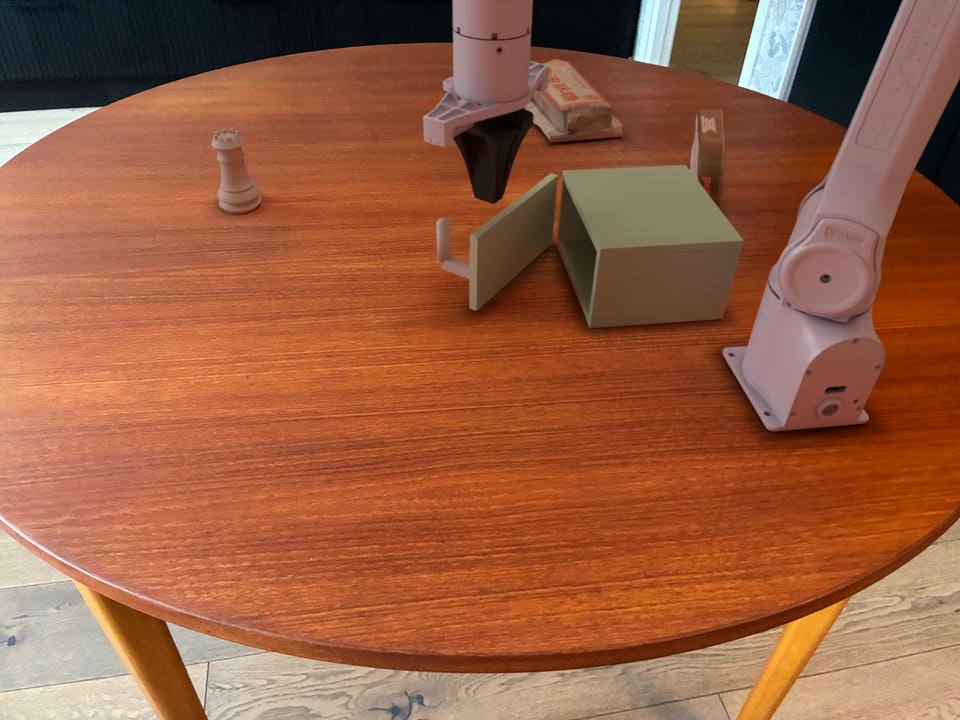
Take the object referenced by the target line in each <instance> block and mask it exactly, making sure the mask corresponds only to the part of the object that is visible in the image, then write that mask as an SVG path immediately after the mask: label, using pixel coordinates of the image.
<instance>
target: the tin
mask: <svg viewBox="0 0 960 720" xmlns="http://www.w3.org/2000/svg"><path fill="white" fill-rule="evenodd" d="M694 121H695V129H694V136H693V143H692V145H691V149H690V157H689V170H690V171H691V172H692V174H693V175H694V176H695V178H696V179H697V180H698V181H699V183H700V184H701V185H702V187H703V188H704V189H705V191H706V192H707V193H708V195H709V196H710V197H711V198H712V200H713V201H714V202H715V204H716V205H717V206H718V207H719V204H720V200H721V194H722V187H723V180H724V173H725V160H726V134H725V124H724V114H723V109H722V108H721V107H720V108H699V109H697V110H696V114H695V118H694Z"/></svg>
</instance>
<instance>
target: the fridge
mask: <svg viewBox="0 0 960 720" xmlns="http://www.w3.org/2000/svg"><path fill="white" fill-rule="evenodd" d="M560 185H561V186H560V195H559V196H560V197H559V207H558V219H557V229H556V241H555V246H556V247H557V250H558V253H559V255H560V257H561V260H562V262H563V265H564V267H565V270H566V273H567V274H568V278H569V281H570V282H571V284H572V287H573V290H574V292H575V294H576V297H577V300H578V301H579V302H578V303H579V305H580V307H581V310H582V312H583V315H584V318H585V321H586V322H587V325H588V327H589V329H598V328H599V329H600V328H612V327H627V326H640V325H641V326H643V325H655V324H658V325H659V324H672V323H685V322H699V321H714V320H722V319H724V318H723V317H724V314H725V310H726V306H727V303H728V299H729V296H730V292H731V288H732V284H733V281H734V278H735V274H736V270H737V266H738V262H739V260H740V256H741V253H742V252H741V251H742V248H743V245H744V239H743V238H742V236H741V234H739V232H738V231H737V230H736V228H735V227H734V226H733V224H732V223H731V222H730V220H729V219H728V218H727V217H726V215H725V214H724V212H723V211H722V210H721V209H720V207H719V205H718V206H717V205H716V204H715V202H714V201H713V200H712V198H711V197H710V196H709V195H708V193H707V192H706V191H705V189H704V188H703V187H702V185H701V184H700V183H699V181H698V180H697V179H696V178H695V176H694V175H693V174H692V172H691V171H690V167H688V166H687V165H686V164H675V165H671V164H670V165H651V166H650V165H649V166H629V167H609V168H588V169H586V168H585V169H567V170H566V169H565V170H562V175H561V184H560Z"/></svg>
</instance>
